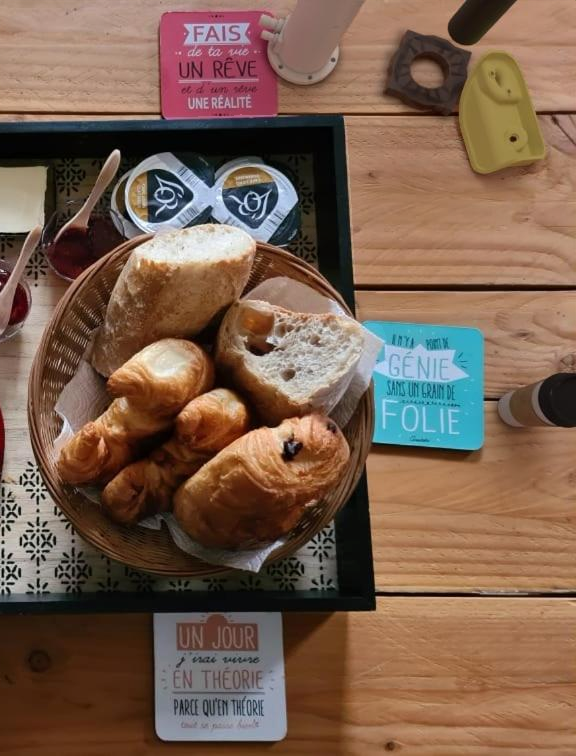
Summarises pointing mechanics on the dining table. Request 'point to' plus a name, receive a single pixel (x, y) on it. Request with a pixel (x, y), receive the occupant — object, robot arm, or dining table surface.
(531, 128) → the plastic component
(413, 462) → the dining table surface
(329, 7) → the robot arm
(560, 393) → the coffee cup
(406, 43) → the brown square ring
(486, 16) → the wine bottle
